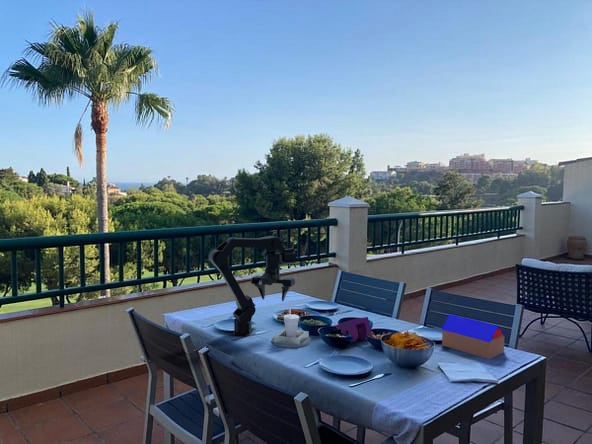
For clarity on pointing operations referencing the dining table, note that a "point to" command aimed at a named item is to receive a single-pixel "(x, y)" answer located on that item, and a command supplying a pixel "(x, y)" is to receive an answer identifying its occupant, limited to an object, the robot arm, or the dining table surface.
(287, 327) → the smoothie
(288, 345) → the disk with square socket
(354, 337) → the mounting bracket
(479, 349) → the house
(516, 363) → the dining table surface
